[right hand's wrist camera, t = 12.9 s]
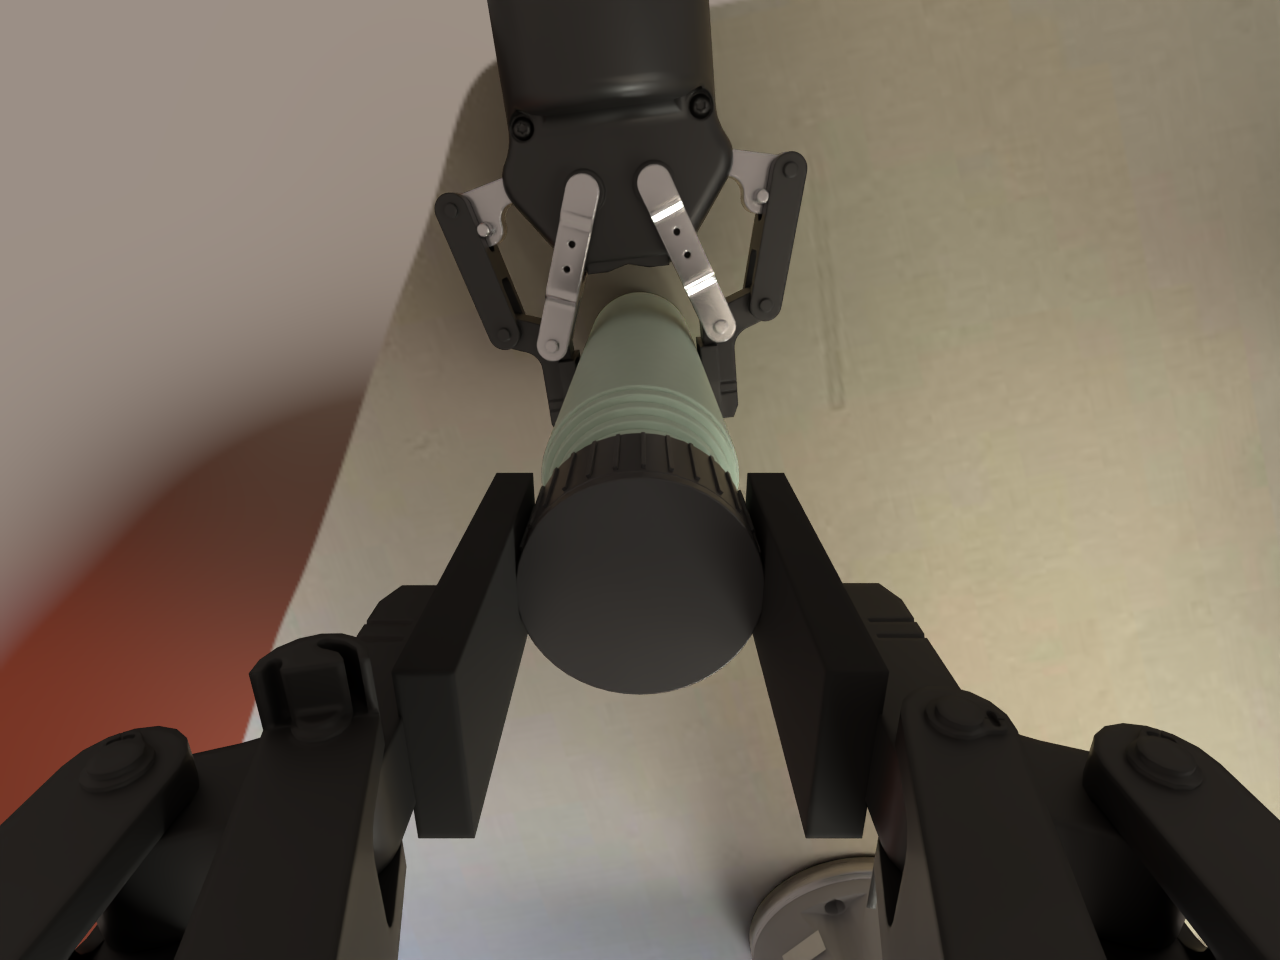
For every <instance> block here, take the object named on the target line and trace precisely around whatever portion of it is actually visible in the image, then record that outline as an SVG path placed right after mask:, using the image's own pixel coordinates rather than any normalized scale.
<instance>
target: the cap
mask: <svg viewBox="0 0 1280 960" xmlns="http://www.w3.org/2000/svg"><path fill="white" fill-rule="evenodd" d="M755 533H756V532H755V529H754V526H753V523H752V520H751V518H750V515H749V512H748V509H747V506H746V503H745V500H744V498H743V495H742V492H741V490H739V491H738V490H737V488H736V486H735V485H734V483H733V481H732V478H731V475H730V473H729V472H728V471H727V472H725V471H724V469H723V468H722V467H721V466H720V465H719V464H718V463H717V462H716V461H715V460H714V457H713V456H712V455H710V456H709V455H707V454H706V453H704V452H703V451H701V450H700V449H698V448H697V447H695V446H693V444H692V443H689V444H688V443H686V442H684V441H681V440H678V439H675V438H672V437H670V435H666V436H664V435H659V434H650V433H645V432H641V433H630V434H622V435H620V434H616V436H611V437H608V438H605V439H602V440H599V441H596V440H595V441H593V442H592V444H590V445H588V446H586V447H584V448H582V449H581V450H579V451H578V452H576V453H575V452H573V453H571V456H570V457H569V458H568V459H567V460H566V461H565V462H563V463H562V464H561V465H560V467H559V468H557V467H556V468H555V469H554V471H553V474H552V476H551V478H550V479H549V481H548V482H547V483H546V485H545V486H543V485H542V487H541V489H540V492H539V495H538V498H537V501H536V504H535V506H533V509H532V512H531V515H530V518H529V521H528V524H527V526H526V529H525V532H524V535H523V538H522V541H521V544H520V546H519V551H521V554H520V557H519V560H518V564H517V570H516V584H517V597H518V609H519V613H520V617H521V620H522V622H523V624H524V626H525V628H526V631H527V633H528V634H529V636H530V637H531V639H532V641H533V642H534V644H535V645H536V646H537V648H538V649H539V650H540V651H541V652H542V653H543V655H544V656H545V657H546V658H547V659H549V660H550V661H551V662H552V663H553V664H554V665H555V666H557V667H558V668H559V669H561V670H562V671H564V672H565V673H566V674H568V675H570V676H572V677H573V678H575V679H577V680H579V681H581V682H583V683H586V684H588V685H591V686H593V687H596V688H600V689H603V690H607V691H611V692H617V693H623V694H639V695H640V694H657V693H663V692H670V691H673V690H677V689H681V688H684V687H687V686H690V685H692V684H695V683H697V682H699V681H701V680H703V679H705V678H707V677H709V676H711V675H712V674H714V673H715V672H717V671H718V670H720V669H721V668H723V667H724V666H725V665H726V664H727V663H728V662H730V661H731V660H732V659H733V658H734V657H735V656H736V655H737V654H738V653H739V652H740V650H741V649H742V648H743V647H744V646H745V644H746V643H747V641H748V640H749V638H750V637H751V635H752V633H753V631H754V629H755V627H756V625H757V623H758V621H759V618H760V615H761V612H762V603H763V590H764V567H763V562H762V559H761V550H760V547H759V544H758V541H757V538H756V535H755Z"/></svg>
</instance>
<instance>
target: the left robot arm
mask: <svg viewBox="0 0 1280 960" xmlns="http://www.w3.org/2000/svg"><path fill="white" fill-rule="evenodd" d="M487 2H488V8H489V14H490V20H491V27H492V32H493V39H494V45H495V51H496V57H497V63H498V69H499V75H500V81H501V87H502V93H503V100H504V106H505V112H506V118H507V124H508V131H509V149H508V155H507V159H506V162H505V165H504V168H503V173H502V178H500V179H498V180H495V181H493V182H490V183H488V184H485V185H483V186H480V187H478V188H475V189H473V190H470V191H468V192H465V193H445V194H442V195H441V196H440V197H439V198H438V199H437V201H436V203H435V214H436V217H437V219H438V221H439V224H440V226H441V228H442V231H443V233H444V235H445V238H446V240H447V242H448V244H449V247H450V249H451V251H452V254H453V256H454V258H455V261H456V263H457V265H458V267H459V270H460V272H461V274H462V277H463V279H464V281H465V284H466V286H467V288H468V290H469V293H470V295H471V297H472V300H473V302H474V304H475V307H476V309H477V311H478V313H479V316H480V318H481V320H482V323H483V325H484V327H485V330H486V332H487V334H488V336H489V339H490V341H491V342H492V344H493V345H494V346H495V347H497V348H499V349H502V350H508V349H515V350H519V351H523V352H527V353H530V354H532V355H534V356H535V357H536V358H537V359H538V360H539V361H540V363H541V365H542V368H543V374H544V380H545V386H546V392H547V398H548V404H549V410H550V416H551V422H552V425H553V427H554V426H555V423H556V421H557V418H558V415H559V413H560V410H561V408H562V405H563V402H564V400H565V397H566V395H567V392H568V389H569V387H570V384H571V382H572V379H573V376H574V374H575V371H576V368H577V366H578V363H579V361H580V358H581V357H580V351H579V350H574V346H573V335H574V331H575V326H576V322H577V317H578V312H579V308H580V303H581V299H582V295H583V291H584V287H585V283H586V278H587V274H595V273H604V272H609V271H611V270H614V269H616V268H619V267H621V266H624V265H626V264H632V265H639V266H645V267H655V266H663V265H669V262H672V263H673V265H674V268H675V270H676V272H677V274H678V276H679V278H680V280H681V282H682V284H683V286H684V289H685V291H686V293H687V295H688V297H689V299H690V301H691V303H692V305H693V308H694V310H695V312H696V314H697V316H698V318H699V320H700V333H701V337H696V344H697V352H698V355H699V357H700V360H701V362H702V365H703V368H704V370H705V373H706V375H707V378H708V381H709V383H710V386H711V388H712V391H713V394H714V396H715V399H716V401H717V404H718V407H719V409H720V412H721V414H722V417H723V418H727V417H734V415H735V412H736V409H737V406H738V397H737V382H736V365H735V349H734V345H735V341H736V338H737V336H738V335H739V334H740V333H741V331H743V330H744V329H746V328H748V327H750V326H752V325H754V324H756V323H758V322H760V321H769V320H772V319H774V318H775V317H776V316H777V315H778V314H779V312H780V310H781V306H782V301H783V295H784V290H785V285H786V280H787V274H788V269H789V264H790V258H791V253H792V248H793V243H794V237H795V232H796V227H797V222H798V216H799V211H800V206H801V200H802V195H803V190H804V185H805V179H806V174H807V163H806V160H805V159H804V157H803V156H802V155H801V154H799V153H798V152H794V151H789V152H783V153H780V154H777V155H774V154H767V153H759V152H751V151H744V150H736V149H732V146H731V143H730V141H729V139H728V137H727V136H726V134H725V132H724V131H723V129H722V127H721V124H720V122H719V119H718V116H717V111H716V104H715V89H714V74H713V58H712V42H711V26H710V11H709V0H487ZM728 177H729V178H732V179H733V180H735V181H736V182H737V184H738V185H739V188H740V192H741V198H740V199H741V203H742V206H743V207H744V209H745V210H747V211H748V212H750V213H755V219H754V225H753V231H752V237H751V243H750V249H749V255H748V261H747V267H746V273H745V279H744V285H743V289H742V290H740V291H738V292H736V293H734V294H732V295H730V296H728V297H726V298H725V297H724V295H723V293H722V291H721V289H720V286H719V284H718V282H717V280H716V277H715V274H714V272H713V269H712V267H711V265H710V263H709V260H708V258H707V256H706V254H705V252H704V249H703V247H702V245H701V243H700V241H699V238H698V236H697V232H698V230H699V228H700V226H701V225H702V223H703V221H704V219H705V218H706V216H707V214H708V212H709V210H710V209H711V207H712V205H713V203H714V202H715V200H716V198H717V196H718V194H719V193H720V191H721V189H722V187H723V185H724V184H725V182H726V180H727V178H728ZM512 204H513V205H514V206H515V207H516V208H517V209H518V210H519V211H520V212H521V213H522V215H523V216H524V217H525V218H526V219H527V220H528V221H529V222H530V223H531V224H532V225H533V227H534V228H535V229H536V230H537V231H538V232H539V233H540V234H541V235H542V236H543V238H544V239H545V240H546V241H547V242H548V243H549V244H550V245H551V246H552V247H553V249H554V252H553V257H552V262H551V267H550V272H549V277H548V283H547V288H546V294H545V305H544V310H543V315H542V318H538V317H534V316H530V315H526V314H525V312H524V309H523V307H522V304H521V302H520V300H519V297H518V295H517V292H516V290H515V287H514V285H513V282H512V280H511V278H510V275H509V273H508V270H507V268H506V265H505V263H504V261H503V258H502V256H501V253H500V251H499V248H498V246H497V244H499V243H501V242H502V241H503V240H504V239H505V237H506V234H507V225H506V221H505V216H506V212H507V210H508V208H509V207H510V206H511V205H512Z"/></svg>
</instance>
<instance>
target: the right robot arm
mask: <svg viewBox="0 0 1280 960" xmlns="http://www.w3.org/2000/svg"><path fill="white" fill-rule="evenodd" d="M533 506H535V499H534V483H533V473H496V475H495V477H494V479H493V481H492V483H491V484H490V486H489V488H488V490H487V492H486V494H485V496H484V498H483V499H482V501H481V503H480V505H479V507H478V509H477V511H476V513H475V515H474V516H473V518H472V520H471V522H470V524H469V526H468V528H467V530H466V532H465V533H464V535H463V537H462V539H461V541H460V543H459V545H458V547H457V548H456V550H455V552H454V554H453V556H452V558H451V560H450V562H449V564H448V565H447V567H446V569H445V571H444V573H443V575H442V577H441V579H440V580H439V582H438V584H437V585H402V586H400V587H399V588H398V589H396V590H395V591H393V592H392V593H391V594H389V595H388V596H387V597H385V598H384V599H382V600H381V601H380V602H379V603H378V604H377V606H376V607H375V609H374V611H373V612H372V614H371V615H370V617H369V618H368V620H367V624H364V626H363V627H362V629H361V630H360V632H359V633H358V635H357V637H354V636H350V635H346V634H342V633H336V634H318V635H313V636H309V637H304V638H299V639H297V640H294V641H292V642H290V643H287V644H285V645H282V646H280V647H278V648H276V649H274V650H273V651H272V652H270V653H269V654H267V655H266V656H264V657H263V658H261V659H260V660H259V661H258V662H257V664H256V665H255V666H254V668H253V669H252V670H251V671H250V673H249V677H250V681H251V684H252V688H253V692H254V696H255V700H256V704H257V708H258V712H259V716H260V719H261V723H262V727H263V732H262V735H261V737H260V738H258V739H254V740H251V741H247V742H244V743H240V744H236V745H231V746H227V747H222V748H217V749H213V750H209V751H204V752H200V753H195V754H192V753H191V749H190V746H189V743H188V740H187V738H186V737H185V736H184V735H183V734H182V733H180V732H179V731H178V730H177V729H173V728H167V727H161V726H154V727H146V728H137V729H133V730H130V731H126V732H123V733H119V734H117V735H114V736H111V737H108V738H106V739H104V740H102V741H100V742H98V743H96V744H94V745H93V746H90V747H89V748H87V749H85V750H83V751H82V752H80V753H79V754H78V755H76V756H75V757H74V758H72V759H71V760H70V761H68V762H67V763H66V764H65V765H63V766H62V767H61V768H60V769H59V770H58V771H57V772H56V773H55V774H53V775H52V776H51V777H50V778H49V779H48V780H47V781H46V782H45V783H44V784H43V785H42V786H41V787H40V788H39V789H38V790H37V791H36V792H35V793H34V794H33V795H32V796H31V797H29V798H28V799H27V800H26V801H25V802H24V803H23V804H22V805H21V806H20V807H19V808H18V809H17V810H16V811H15V812H14V813H13V814H12V815H11V816H10V817H9V818H8V819H7V820H6V821H4V822H3V823H2V824H1V825H0V960H398V950H399V940H400V929H401V918H402V908H403V897H404V887H405V876H406V861H405V854H404V848H403V842H402V839H403V836H404V833H405V831H406V828H407V825H408V822H409V820H410V817H411V814H412V812H413V809H414V815H415V821H416V827H417V833H418V838H475V835H476V831H477V827H478V823H479V819H480V815H481V811H482V808H483V804H484V800H485V796H486V792H487V788H488V785H489V781H490V777H491V773H492V769H493V765H494V762H495V758H496V754H497V750H498V746H499V742H500V738H501V735H502V731H503V727H504V723H505V719H506V715H507V712H508V708H509V704H510V700H511V696H512V692H513V688H514V685H515V681H516V677H517V673H518V669H519V665H520V662H521V658H522V654H523V650H524V646H525V642H526V639H527V635H528V633H527V631H526V628H525V626H524V624H523V622H522V620H521V617H520V613H519V609H518V597H517V584H516V570H517V564H518V560H519V557H520V554H521V551H519V546H520V544H521V541H522V538H523V535H524V532H525V529H526V526H527V524H528V521H529V518H530V515H531V512H532V509H533ZM746 506H747V509H748V512H749V515H750V518H751V520H752V523H753V526H754V529H755V532H756V533H755V535H756V538H757V541H758V544H759V547H760V550H761V559H762V562H763V567H764V590H763V603H762V612H761V615H760V618H759V621H758V623H757V625H756V627H755V629H754V631H753V637H754V641H755V645H756V648H757V652H758V656H759V660H760V664H761V668H762V671H763V675H764V679H765V683H766V687H767V691H768V695H769V698H770V702H771V706H772V710H773V714H774V718H775V721H776V725H777V729H778V733H779V737H780V741H781V744H782V748H783V752H784V756H785V760H786V764H787V768H788V771H789V775H790V779H791V783H792V787H793V791H794V794H795V798H796V802H797V806H798V810H799V814H800V817H801V821H802V825H803V829H804V833H805V837H806V838H862V836H863V829H864V823H865V817H866V811H867V807H868V810H869V813H870V815H871V818H872V821H873V823H874V826H875V828H876V831H877V834H878V836H879V837H878V842H877V848H876V854H875V857H856V858H846V859H839V860H834V861H830V862H826V863H822V864H819V865H816V866H813V867H810V868H808V869H806V870H803V871H801V872H799V873H797V874H795V875H793V876H792V877H790V878H788V879H787V880H785V881H784V882H782V883H781V884H780V885H778V886H777V887H776V888H775V889H774V890H773V891H771V892H770V893H769V894H768V895H767V897H766V898H765V899H764V900H763V901H762V903H761V904H760V905H759V907H758V909H757V910H756V912H755V914H754V917H753V919H752V922H751V926H750V932H749V942H750V949H751V955H752V960H1280V820H1279V819H1278V818H1277V817H1276V816H1275V815H1274V814H1273V813H1271V812H1270V811H1269V810H1268V809H1267V808H1266V807H1265V806H1264V805H1263V804H1262V803H1261V802H1260V801H1259V800H1258V799H1257V798H1256V797H1255V796H1254V795H1253V794H1251V793H1250V792H1249V791H1248V790H1247V789H1246V788H1245V787H1244V786H1243V785H1242V784H1241V783H1240V782H1239V781H1238V780H1237V779H1236V778H1235V777H1234V776H1233V775H1232V774H1230V773H1229V772H1228V771H1227V770H1226V769H1225V768H1224V767H1223V766H1222V765H1221V764H1220V763H1219V762H1217V761H1216V760H1215V759H1213V758H1212V757H1211V756H1209V755H1208V754H1207V753H1205V752H1204V751H1203V750H1201V749H1200V748H1199V747H1197V746H1195V745H1193V744H1191V743H1189V742H1187V741H1185V740H1183V739H1181V738H1179V737H1177V736H1175V735H1173V734H1170V733H1168V732H1165V731H1161V730H1158V729H1155V728H1151V727H1148V726H1143V725H1134V724H1126V723H1121V724H1115V725H1109V726H1105V727H1103V728H1102V729H1101V730H1100V731H1099V732H1098V733H1096V734H1095V735H1094V738H1093V742H1092V745H1091V748H1090V751H1085V750H1080V749H1076V748H1071V747H1067V746H1062V745H1058V744H1053V743H1049V742H1044V741H1040V740H1036V739H1033V738H1029V737H1026V736H1022V735H1020V734H1018V731H1017V729H1016V727H1015V726H1014V725H1013V723H1012V722H1011V720H1010V719H1009V717H1008V716H1007V714H1005V713H1004V712H1003V711H1002V710H1000V709H999V708H998V707H996V706H995V705H994V704H993V703H991V702H990V701H988V700H986V699H984V698H982V697H980V696H977V695H975V694H973V693H971V692H968V691H964V690H961V689H960V688H959V686H958V684H957V683H956V681H955V680H954V678H953V677H952V675H951V674H950V672H949V671H948V669H947V668H946V666H945V665H944V663H943V662H942V660H941V659H940V657H939V656H938V654H937V653H936V651H935V650H934V648H933V647H932V645H931V643H930V642H929V640H928V639H927V638H924V633H923V631H922V630H921V628H920V627H919V625H918V624H917V622H914V618H913V616H912V615H911V613H910V612H909V610H908V609H907V607H906V605H905V604H904V602H903V601H902V599H900V598H899V597H897V596H896V595H895V594H893V593H892V592H890V591H889V590H887V589H886V588H885V587H883V586H882V585H880V584H879V583H842V581H841V580H840V578H839V576H838V574H837V572H836V570H835V568H834V566H833V565H832V563H831V561H830V559H829V557H828V555H827V553H826V551H825V549H824V548H823V546H822V544H821V542H820V540H819V538H818V536H817V534H816V533H815V531H814V529H813V527H812V525H811V523H810V521H809V519H808V517H807V516H806V514H805V512H804V510H803V508H802V506H801V504H800V502H799V501H798V499H797V497H796V495H795V493H794V491H793V489H792V487H791V485H790V484H789V482H788V480H787V478H786V476H785V474H784V473H748V474H747V490H746ZM1185 919H1187V921H1188V922H1189V923H1190V925H1191V926H1192V927H1193V928H1194V930H1195V931H1196V932H1197V934H1198V935H1199V936H1200V937H1201V939H1202V940H1203V941H1204V943H1205V944H1206V945H1207V946H1208V947H1206V946H1204V945H1203V944H1202V943H1201V942H1200V941H1199V940H1198V939H1197V938H1196V937H1195V935H1194V934H1193V933H1192V931H1191V930H1190V929H1189V928H1188V926H1187V925H1186V924H1185V922H1184V921H1185ZM95 922H97V926H96V927H95V928H94V930H93V931H92V932H91V934H90V935H89V936H88V937H87V939H86V940H85V941H84V942H82V943H81V944H80V945H79V946H78V944H79V943H80V942H81V941H82V939H83V938H84V937H85V935H86V934H87V933H88V931H89V930H90V929H91V928H92V926H93V925H94V924H95ZM77 946H78V947H77ZM76 947H77V948H76ZM75 948H76V949H75Z"/></svg>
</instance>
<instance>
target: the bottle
mask: <svg viewBox="0 0 1280 960" xmlns="http://www.w3.org/2000/svg"><path fill="white" fill-rule="evenodd" d="M641 432H645V433H650V434H659V435H664V436H666V435H670V437H672V438H675V439H678V440H681V441H684V442H686V443H688V444H689V443H692V444H693V446H695V447H697V448H698V449H700V450H701V451H703V452H704V453H706V454H707V455H709V456H710V455H712V456H713V457H714V460H715V461H716V462H717V463H718V464H719V465H720V466H721V467H722V468H723V469H724V471H725V472H727V471H728V472H729V473H730V475H731V478H732V481H733V483H734V485H735V486H736V488H737V490H738V485H739V467H738V460H737V456H736V452H735V449H734V446H733V443H732V440H731V438H730V435H729V433H728V430H727V427H726V425H725V422H724V420H723V417H722V414H721V412H720V409H719V407H718V404H717V401H716V399H715V396H714V394H713V391H712V388H711V386H710V383H709V381H708V378H707V375H706V373H705V370H704V368H703V365H702V362H701V360H700V357H699V355H698V352H697V349H696V347H695V344H694V342H693V339H692V337H691V334H690V331H689V329H688V326H687V324H686V321H685V319H684V317H683V316H682V314H681V313H680V312H679V310H678V309H677V308H676V307H675V306H674V305H673V304H672V303H670V302H669V301H668V300H666V299H664V298H662V297H660V296H658V295H655V294H651V293H645V292H635V293H629V294H625V295H622V296H620V297H618V298H616V299H614V300H613V301H611V302H610V303H609V304H607V305H606V306H605V307H604V308H603V309H602V311H601V312H600V313H599V315H598V316H597V318H596V320H595V322H594V324H593V327H592V329H591V332H590V335H589V337H588V340H587V342H586V345H585V348H584V350H583V353H582V355H581V358H580V361H579V363H578V366H577V368H576V371H575V374H574V376H573V379H572V382H571V384H570V387H569V389H568V392H567V395H566V397H565V400H564V402H563V405H562V408H561V410H560V413H559V415H558V418H557V421H556V423H555V426H554V428H553V431H552V434H551V436H550V439H549V441H548V444H547V447H546V450H545V453H544V457H543V463H542V474H541V482H542V485H543V486H545V485H546V483H547V482H548V481H549V479H550V478H551V476H552V474H553V471H554V469H555V468H556V467H557V468H559V467H560V465H561V464H562V463H563V462H565V461H566V460H567V459H568V458H569V457H570V456H571V453H573V452H575V453H576V452H578V451H579V450H581V449H582V448H584V447H586V446H588V445H590V444H592V442H593V441H595V440H596V441H599V440H602V439H605V438H608V437H611V436H616V434H620V435H622V434H630V433H641Z"/></svg>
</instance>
